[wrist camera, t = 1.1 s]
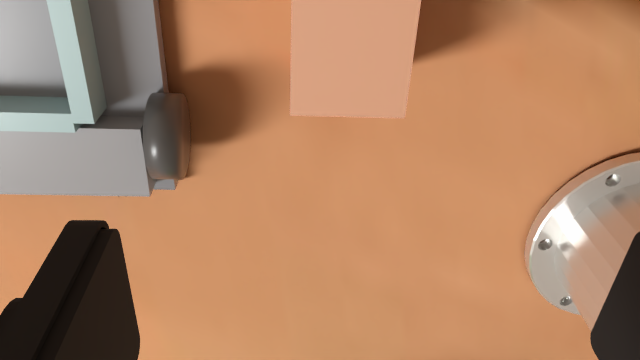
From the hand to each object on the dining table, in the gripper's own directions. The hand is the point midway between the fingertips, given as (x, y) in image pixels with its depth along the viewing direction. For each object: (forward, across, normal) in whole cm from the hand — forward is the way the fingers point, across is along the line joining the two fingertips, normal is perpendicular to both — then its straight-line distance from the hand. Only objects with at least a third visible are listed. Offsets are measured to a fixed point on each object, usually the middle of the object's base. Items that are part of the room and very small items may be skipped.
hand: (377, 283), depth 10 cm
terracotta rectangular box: (+20, -1, 0) cm, 20 cm away
